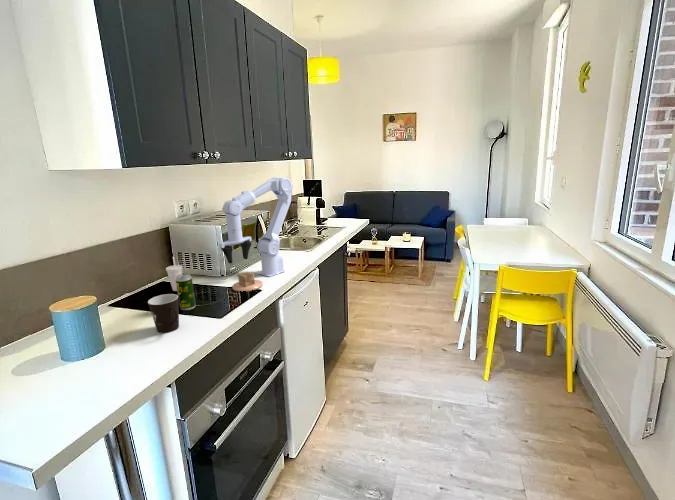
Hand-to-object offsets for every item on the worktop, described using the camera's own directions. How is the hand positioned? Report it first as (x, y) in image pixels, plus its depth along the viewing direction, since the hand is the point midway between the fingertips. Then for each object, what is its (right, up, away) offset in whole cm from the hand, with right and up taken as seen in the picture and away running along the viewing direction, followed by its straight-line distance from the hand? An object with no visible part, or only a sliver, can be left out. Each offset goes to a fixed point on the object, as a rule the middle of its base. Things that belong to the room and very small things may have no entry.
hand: (238, 260), depth 154 cm
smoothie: (-24, -12, -4) cm, 27 cm away
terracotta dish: (+5, -11, -4) cm, 13 cm away
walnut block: (+5, -10, -4) cm, 12 cm away
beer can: (-12, -16, -23) cm, 31 cm away
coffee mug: (-11, -21, -40) cm, 47 cm away
